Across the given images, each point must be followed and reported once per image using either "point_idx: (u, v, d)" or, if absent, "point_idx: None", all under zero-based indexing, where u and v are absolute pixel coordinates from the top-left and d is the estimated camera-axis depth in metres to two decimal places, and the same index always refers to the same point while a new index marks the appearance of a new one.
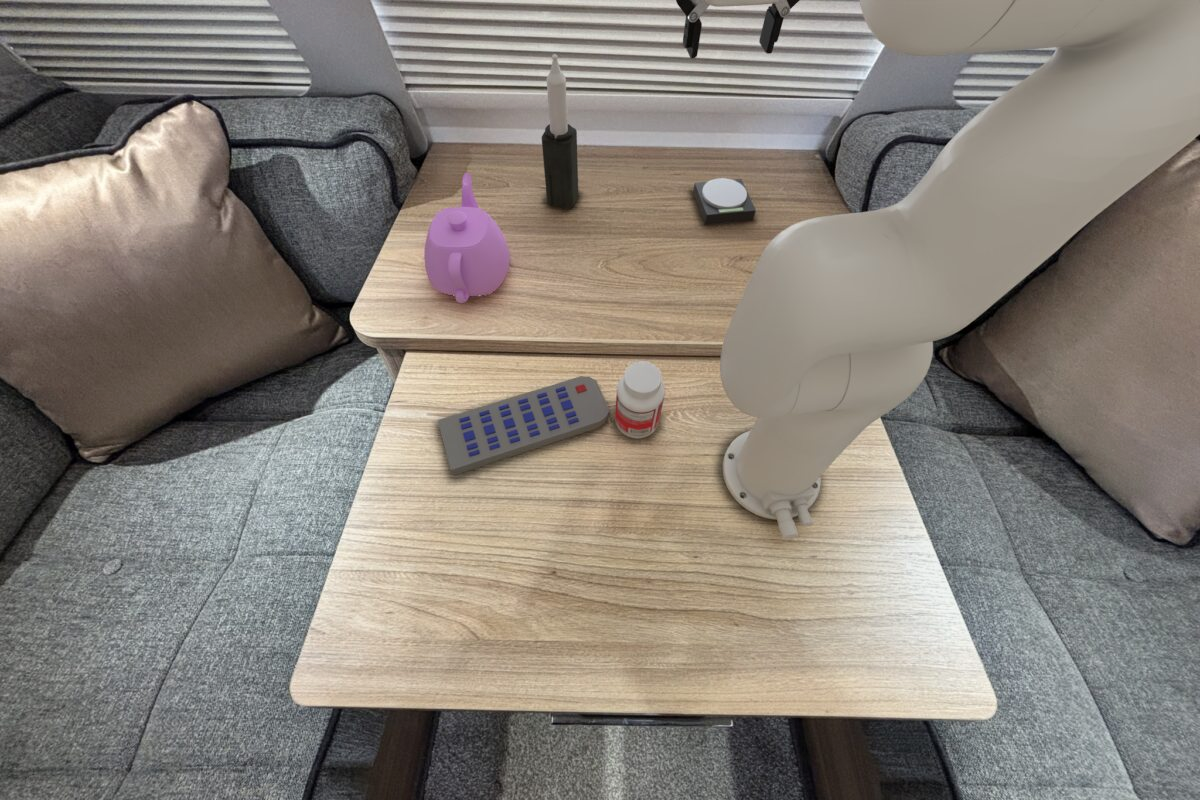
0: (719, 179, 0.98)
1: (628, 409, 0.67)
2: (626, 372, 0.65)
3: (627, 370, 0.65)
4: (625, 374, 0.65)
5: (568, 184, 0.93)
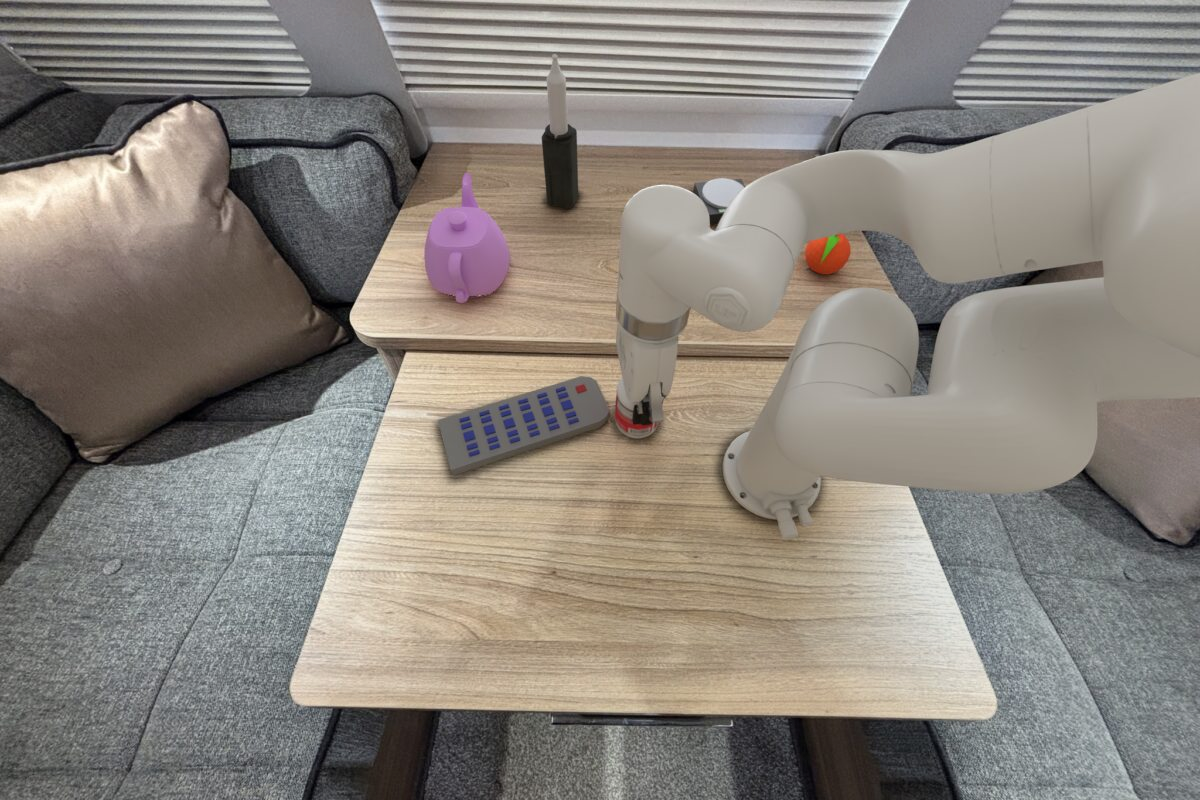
0: (719, 179, 0.98)
1: (628, 408, 0.67)
2: None
3: None
4: None
5: (568, 184, 0.93)
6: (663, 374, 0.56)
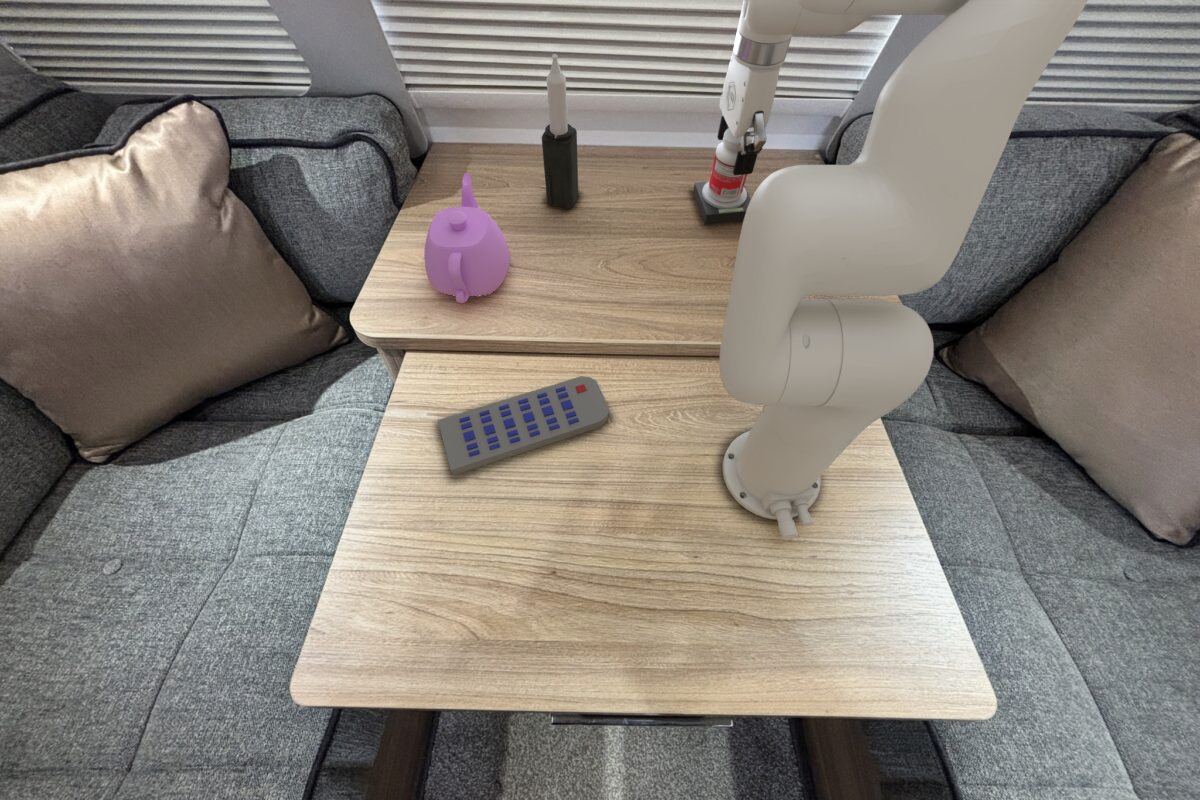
0: None
1: (725, 163, 0.88)
2: (725, 132, 0.87)
3: (726, 131, 0.87)
4: (725, 133, 0.87)
5: (568, 183, 0.93)
6: (765, 102, 0.77)
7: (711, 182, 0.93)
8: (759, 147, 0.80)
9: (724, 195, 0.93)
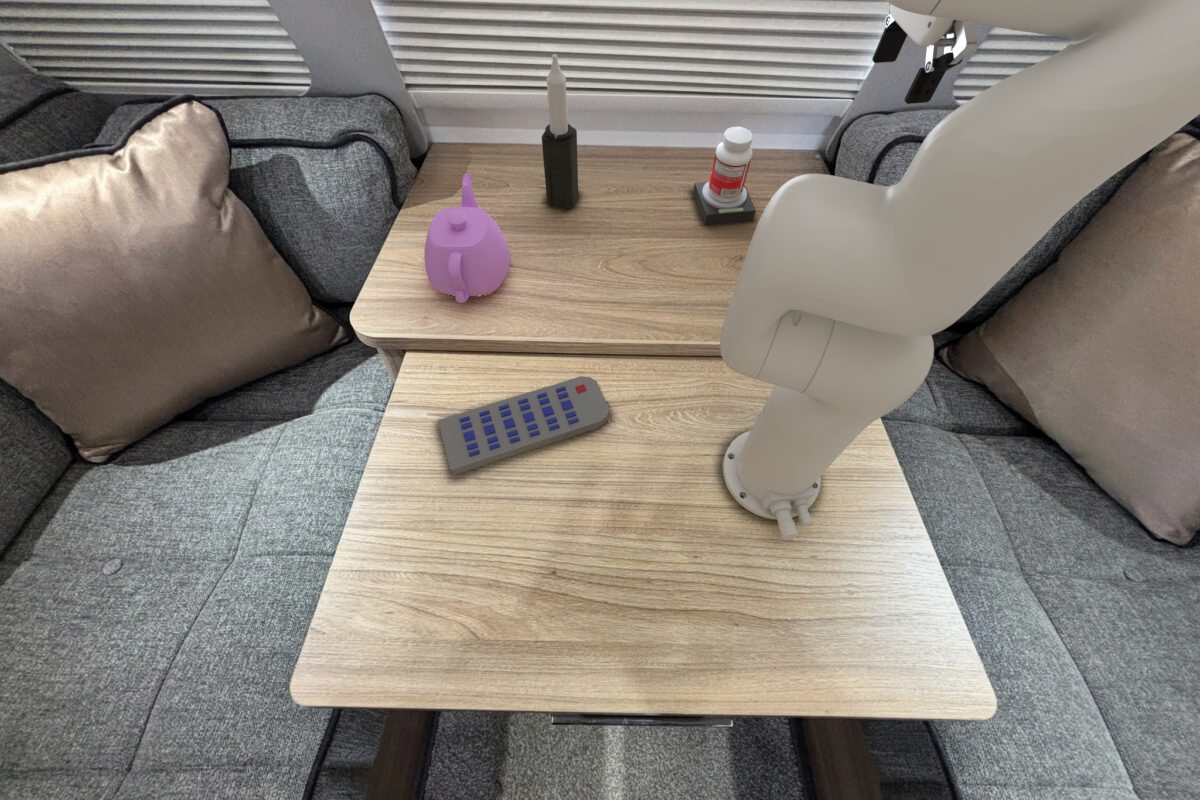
0: None
1: (725, 163, 0.88)
2: (725, 132, 0.87)
3: (726, 131, 0.87)
4: (725, 133, 0.87)
5: (568, 183, 0.93)
6: None
7: (711, 182, 0.93)
8: (961, 57, 0.59)
9: (724, 195, 0.93)
